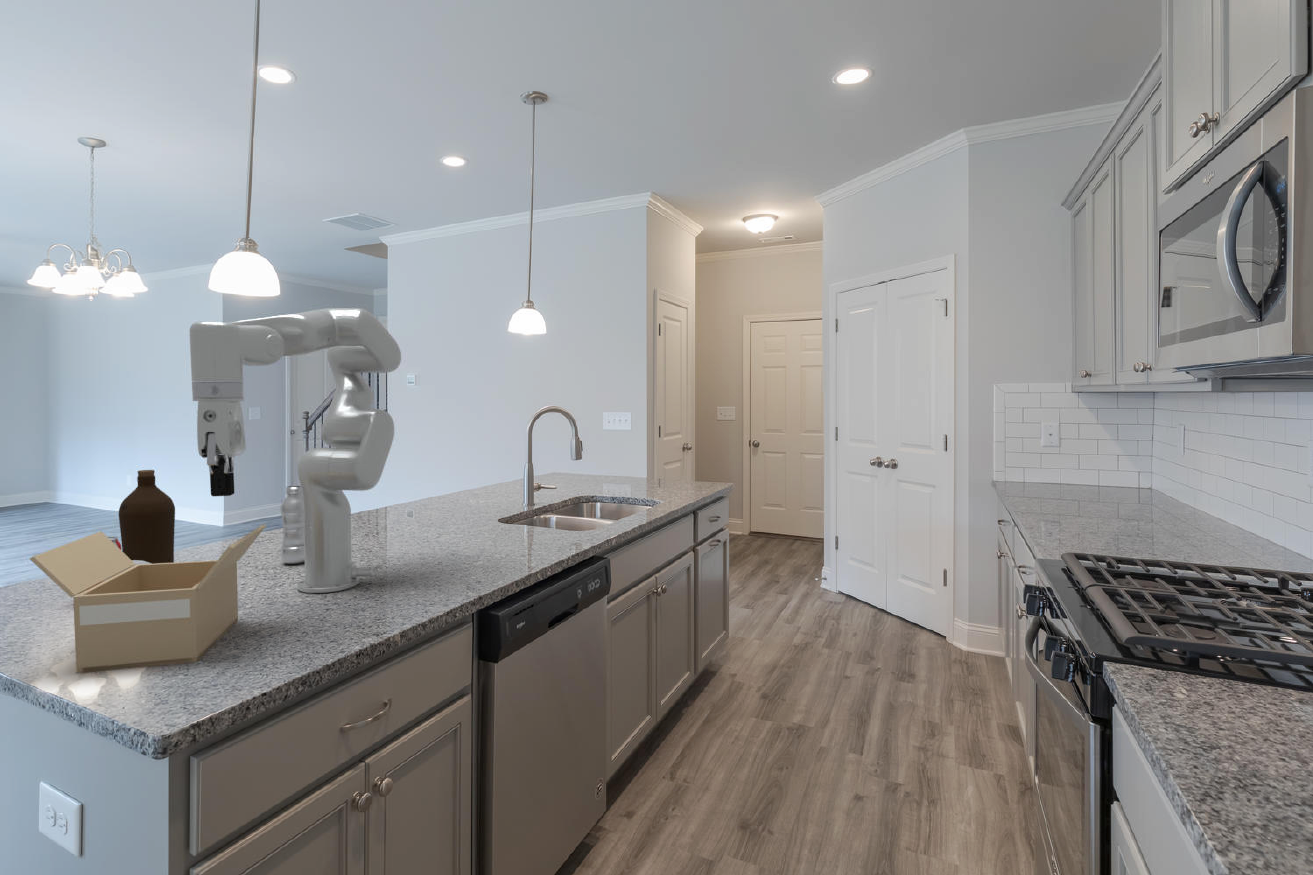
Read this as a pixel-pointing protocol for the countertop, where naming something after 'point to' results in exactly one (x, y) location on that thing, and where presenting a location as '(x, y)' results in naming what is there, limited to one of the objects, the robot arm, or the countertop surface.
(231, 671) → the countertop surface
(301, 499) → the plastic bottle
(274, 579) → the countertop surface
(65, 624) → the countertop surface
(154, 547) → the olive oil
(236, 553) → the flap
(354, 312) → the robot arm
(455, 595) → the countertop surface
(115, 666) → the carton
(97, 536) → the flap
